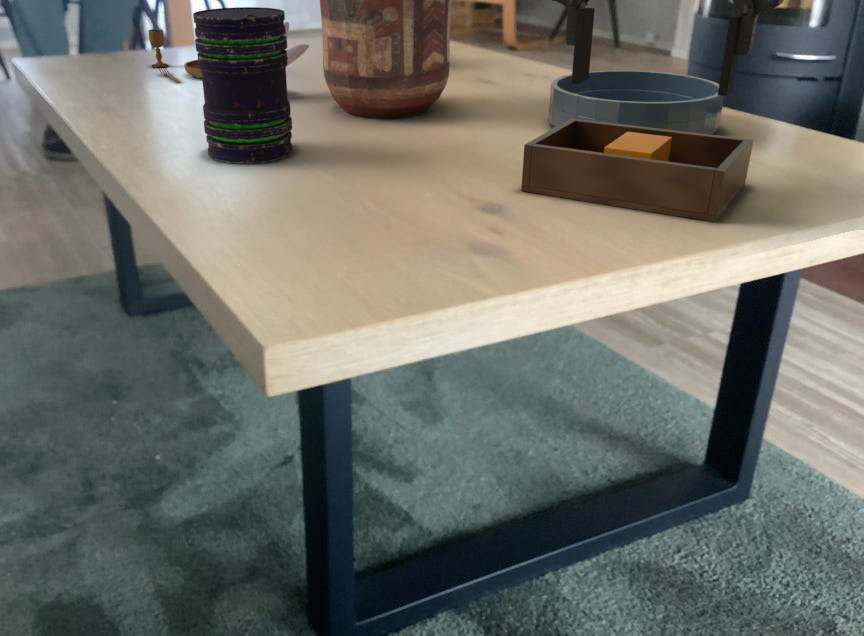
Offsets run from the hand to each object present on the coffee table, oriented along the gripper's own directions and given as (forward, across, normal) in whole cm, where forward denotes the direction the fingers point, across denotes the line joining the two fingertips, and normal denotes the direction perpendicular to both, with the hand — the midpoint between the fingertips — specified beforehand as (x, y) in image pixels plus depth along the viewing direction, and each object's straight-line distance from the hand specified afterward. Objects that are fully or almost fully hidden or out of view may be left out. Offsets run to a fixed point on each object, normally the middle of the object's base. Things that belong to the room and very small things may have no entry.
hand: (649, 87), depth 81 cm
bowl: (+10, -8, +25) cm, 28 cm away
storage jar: (+9, -42, -8) cm, 44 cm away
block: (+9, 0, 0) cm, 9 cm away
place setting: (+9, -81, +30) cm, 87 cm away
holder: (+10, 0, 0) cm, 10 cm away
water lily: (+9, -60, +17) cm, 63 cm away
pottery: (+10, -40, +19) cm, 46 cm away
